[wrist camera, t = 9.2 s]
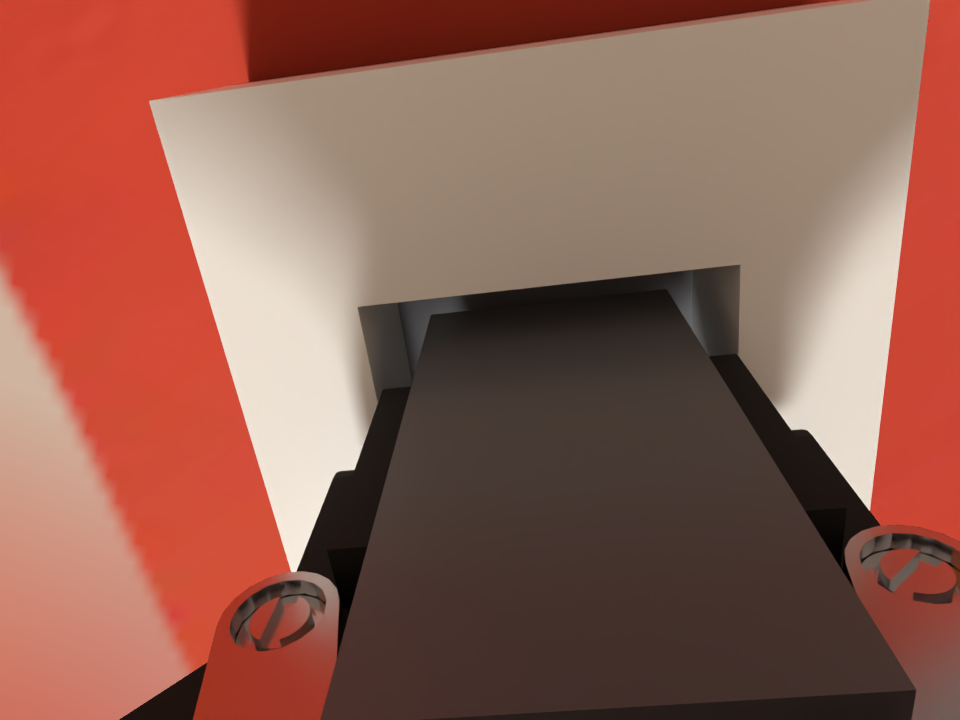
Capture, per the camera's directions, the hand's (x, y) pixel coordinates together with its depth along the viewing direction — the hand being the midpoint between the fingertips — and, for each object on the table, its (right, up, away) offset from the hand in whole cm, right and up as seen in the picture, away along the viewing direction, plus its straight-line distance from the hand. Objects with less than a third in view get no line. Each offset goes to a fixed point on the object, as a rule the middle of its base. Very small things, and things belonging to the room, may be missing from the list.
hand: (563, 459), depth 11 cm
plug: (0, +1, +2) cm, 2 cm away
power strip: (+1, -5, +7) cm, 8 cm away
